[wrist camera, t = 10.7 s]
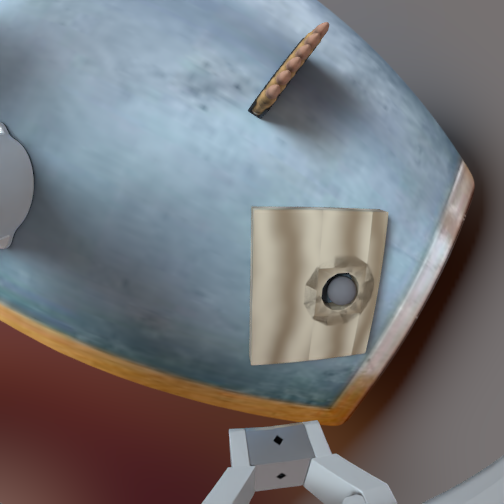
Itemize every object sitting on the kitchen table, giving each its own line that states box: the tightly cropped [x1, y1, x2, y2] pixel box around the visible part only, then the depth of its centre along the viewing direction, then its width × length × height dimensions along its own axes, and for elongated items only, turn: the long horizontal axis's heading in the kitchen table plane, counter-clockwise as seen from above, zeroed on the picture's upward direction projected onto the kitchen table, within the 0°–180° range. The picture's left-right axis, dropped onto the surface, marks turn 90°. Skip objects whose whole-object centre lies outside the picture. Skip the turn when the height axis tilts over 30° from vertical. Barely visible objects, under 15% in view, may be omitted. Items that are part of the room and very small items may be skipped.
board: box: [249, 207, 388, 365], centre depth 41 cm, size 18×22×2 cm
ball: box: [328, 276, 356, 305], centre depth 41 cm, size 4×4×4 cm
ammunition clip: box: [248, 22, 329, 118], centre depth 28 cm, size 11×2×12 cm, turn 146°
